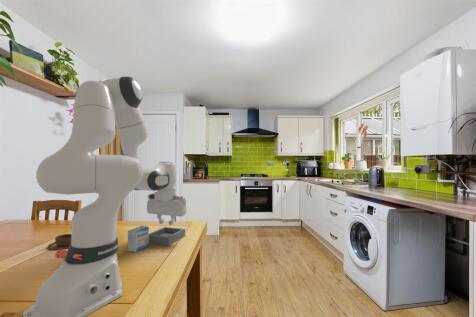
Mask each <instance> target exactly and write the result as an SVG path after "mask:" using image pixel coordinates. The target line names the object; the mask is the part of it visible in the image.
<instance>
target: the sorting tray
mask: <svg viewBox="0 0 476 317" xmlns="http://www.w3.org/2000/svg"><path fill="white" fill-rule="evenodd" d="M185 237H186V229H185V228H181V227H179V228H178V227H170V226H164V227H161V228H159V229H157V230H154V231H153V232H150V233H149V244H155V245H163V246H168V247H169V246H171V245H172V244H174V243H176V242H177V241H179V240H180V239H182V238H185Z"/></svg>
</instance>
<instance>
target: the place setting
mask: <svg viewBox="0 0 476 317" xmlns="http://www.w3.org/2000/svg"><path fill="white" fill-rule="evenodd" d="M54 240H55V241H54V242H51V243H49V244H48V245H47V249H48V250H51V251H58V250H63V251H64V250H68V248H69V246H70V244H71V233H66V234H60V235H57V236H55V238H54ZM52 245H53V246H54V245H55V246H58V247H52ZM43 250H44V251H45V249H41V250H40V249H39V252H42V251H43Z"/></svg>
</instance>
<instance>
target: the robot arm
mask: <svg viewBox="0 0 476 317" xmlns="http://www.w3.org/2000/svg"><path fill="white" fill-rule="evenodd" d="M142 100H143V92H142V88H141V86H140V84H139V83H138V81H137V80H136V79H135V78H134V77H132V76H121V77H116V78H115V77H114V78H108V79H100V80H98V81H96V80H86V81H84V82H82V83H80V84H79V86H78V87H77V90H76V93H75V98H74V104H73V118H72V129H71V134H70V137H69V139H68V140H67V142H65V144H64V145H63V146H62V147H61V148H60V149H59V150H58V151H56V152H54V153H52V154H51V155H49V156H47V157H45V158H44V159H43V160H42V161H41V162H40V163H39V165H38V166H37V169H36V174H35V175H36V181H37V184H38V185H39V187H40V188H41V189H42V190H43V191H45V193H48V194H58V195H67V196H68V195H82V194H98V196H97V199H96V200H95V201H94V202H92V203H90V204H87V205H86V206H83V207H82V208H80V209H79V210H77V211H76V212H75V213H74V214H73V216H72V217H71V221H70V222H71V232H70V234H71V244H70V245H69V248H68V249H67V250H66V249H63V250H56V252H55V253H54V257H55V258H58V259H61V260H62V259H63V262H62V264H60V265H59V267H58V268H57V269H55V271H54V272H52V273H51V275H50V276H49V277H48V278H47V279H46V280H45V281H44V282H43V283H42V284H41V285H40V286H39V288H38V291H37V294H36V297H35V303H34V304H33V305H31V306H30V307H28V308H26V309H25V310H24V311H23V313H22V317H86V316H87V315H89V314H91V313H94V312H95V311H97V310H99V309H100V308H103V307H105V306H106V305H108V304H110V303H112V302H113V301H115V300H116V299H118V298H121V297H122V296H123V289H122V288H123V281H122V279H121V278H122V277H121V274H120V269H119V261H118V260H119V259H118V253H117V252H118V251H119V238H118V236H117V226H118V218H119V217H118V216H119V211H120V208H121V205H122V204H123V202H124V201H125V199H126V198H127V196H128V195H130V193H131V192H132V191H149V192H151V191H153V192H152V193H150V194H148V195H147V199H148V200H147V201H146V202H147V203H146V213H147V214H150V215H156V217H157V219H158V224H159V225H160V224H161V225H163V224H164V223H165V222H164V221H165V220H164V219H163V217H162V216H170V218H171V219H170V220H169V221H168V225H171V226H173V225H174V224H175V220H176V217H184V216H185V215H186V214H187V200H186V198H185V197H184V196H182V195H177V187H176V182H177V170H176V166H175V164H174V163H173V162H170V161H159V162H158V164H157V165H155V166H154V167H152V168H149V169H148V168H146V169H145V168H144V167H143V165H142V162H140V160H139V156H138V147H139V146H140V145H142V144H143V143H144V142H145V141H146V140H147V138H148V135H149V132H148V126H147V123H146V120H145V117H144V115H143V113H142V111H141V108H140V107H139V105H140V104H141V103H142ZM116 129H117V130H116ZM116 132H118V135H119V139H120V141H119V147H120V148H119V149H120V151H121V154H94V153H95V152H96V151H97V150H98V149H100V148H103V147H105V146H108V145H110V143H112V142H113V141H114V140H115V138H116V134H117V133H116Z"/></svg>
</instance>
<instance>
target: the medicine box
mask: <svg viewBox="0 0 476 317" xmlns="http://www.w3.org/2000/svg"><path fill="white" fill-rule="evenodd" d="M149 232H150V229H149V226H146V225H140V226H138V227H135V228H133V229H130V230H129V229H128V230H127V251H128V252H134V253H138V252H139V251H142V250H143V249H145V248H147V247H149V246H150V243H149V234H150V233H149Z"/></svg>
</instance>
